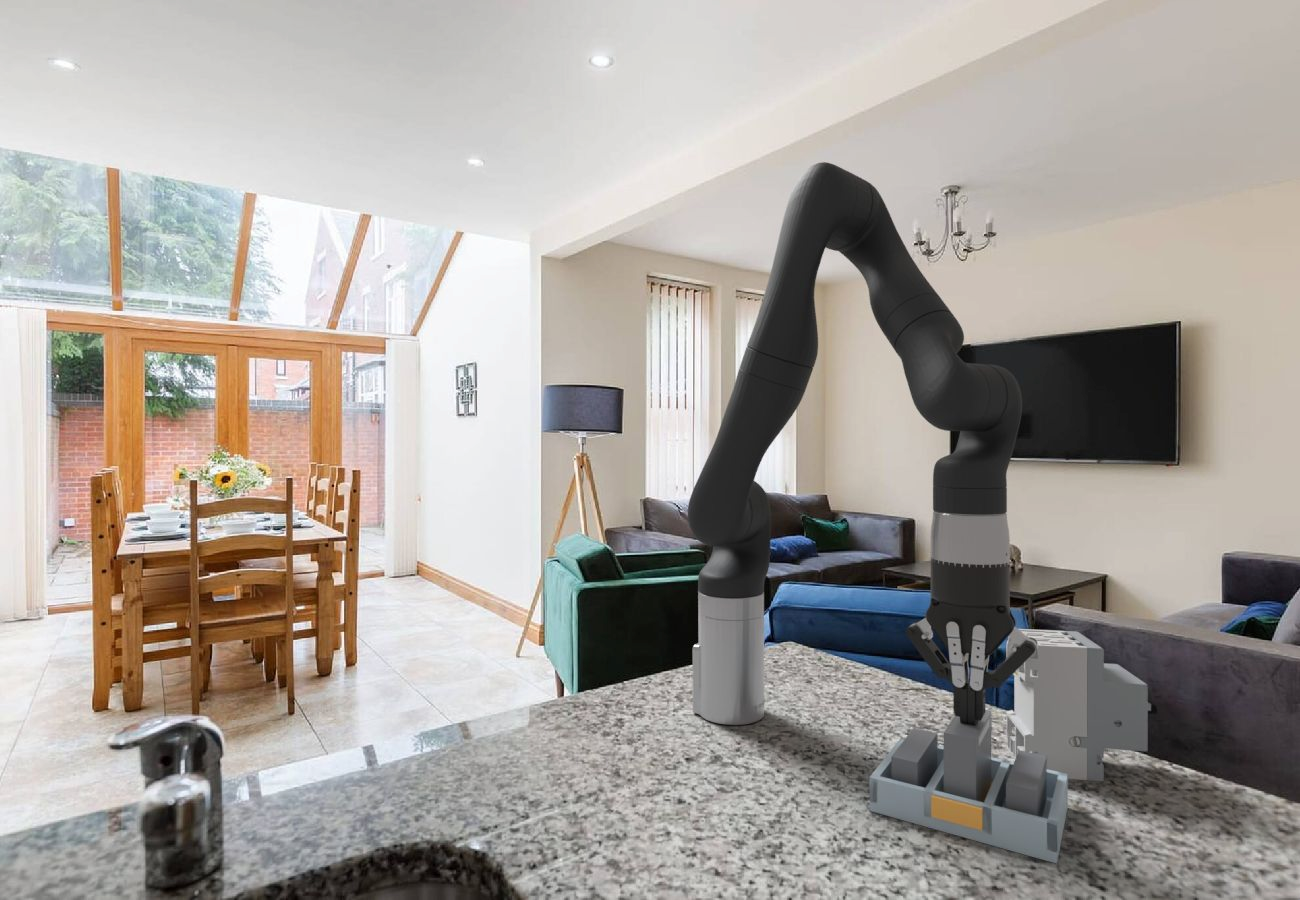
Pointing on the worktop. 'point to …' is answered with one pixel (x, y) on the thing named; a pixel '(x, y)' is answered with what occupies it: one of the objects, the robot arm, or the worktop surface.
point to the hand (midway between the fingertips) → (969, 721)
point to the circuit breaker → (1075, 705)
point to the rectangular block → (968, 758)
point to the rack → (1010, 818)
